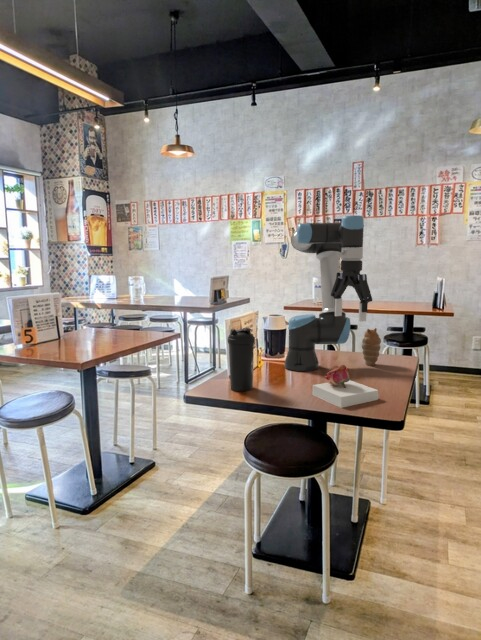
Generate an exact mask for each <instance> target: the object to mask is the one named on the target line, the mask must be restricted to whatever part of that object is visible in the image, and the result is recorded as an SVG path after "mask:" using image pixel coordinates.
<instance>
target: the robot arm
mask: <svg viewBox="0 0 481 640" xmlns="http://www.w3.org/2000/svg"><path fill="white" fill-rule="evenodd" d="M364 223H365V222H364V216H362V215H358V214H357V215H352V214H351V215H343V217H342V219H341V222H304V223H302V222H301V223H298V224H297V226H296V230H295V231H294V232H293V233H292V234H291V237H290V244H291V246H292V247H293V248H294V249H295V250H296V251H299V252H301V253H305V254H316V259H317V260H318V261H319V262H320V263H319V266H320V268H319V270H320V286H321V287H320V291H321V311H320V313H319V314H318V317H316V315H315V314H313V313H310V314H300V315H296V316H295V315H294V316H292V317H290V318H289V320H288V327H287V329H288V351H287V353H286V357H285V361H284V368H285V369H286V370H290V371H296V372H312V371H315V370H318V369H320V368H319V367H320V366H319V359H318V357H317V354H316V345H341V344H346V342H348V340H349V337H350V333H351V332H350V331H351V319H350V318H349V317H346V315H347V314H346V311H344V310H343V297H342V296H343V294H344V293H345V291H346V290H347V288H348V287H352V288H353V289H354V290H355V292H356V294H357V298H358V299H359V303H358V322H360V323H361V322H366V321H367V312H368V303H370V302H373V297H372V293H371V289H370V287H369V284H368V277H367V275H368V274H364V273H362V274H361V271H362V270H363V260H362V259H364V255H363V254H364V230H365V229H364V227H365V224H364ZM340 259H342V260H341V261H340ZM340 271H341V272H340Z"/></svg>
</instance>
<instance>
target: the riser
mask: <svg viewBox="0 0 481 640" xmlns="http://www.w3.org/2000/svg"><path fill="white" fill-rule="evenodd" d="M348 380H349V379H348ZM344 384H345V386H346V388H344V387H343V385H342V384H340V385H338V386H333V384H329V382H323V383H317V384H312V396H314V397H315V398H319V399H321V400H323V401H324V402H327V403H329V404H332V405H333V406H336V407H338V408H341V409H342V408H347V407H350V406H356V405H359V404H364V403H369V402H374V401H377V400H379V390H378V389H375V388H373V387H370V386H367V385H365V384H362V383H359V382H357V381H353V380H351V379H350V380H349V381H348V382H344Z"/></svg>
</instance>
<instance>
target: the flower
mask: <svg viewBox="0 0 481 640" xmlns="http://www.w3.org/2000/svg"><path fill="white" fill-rule="evenodd" d="M349 369H350V368H349V367H347V366H346V365H345V364H341V365H340V366H339V365H334V366H333V367H332V368H331V369H330V370H329V371H328V372H326V373H325V376H323V378H324V379H326V380H327V381H328V383H329V384H333V386H338V385H340V384H342V385H343V387H344V388H346V386H345V384H344V382H348V381H349V380H351V378H353V377H350V376H351V374H350V375H349V373H350V371H349Z"/></svg>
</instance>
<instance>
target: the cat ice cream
mask: <svg viewBox="0 0 481 640" xmlns="http://www.w3.org/2000/svg"><path fill="white" fill-rule="evenodd" d="M366 329H367V330H366V331H365V332H364V337H363V338H362V345H361V348H362V354H363V359H364V361H365V365H366V366H367V367H374V366H376V363H377V362H378V359H379V357H380V350H381V342H382V340H381V338H380V335H379V333H378V332H377V329H378V328H376V327H375V328H373V329H369V328H366Z"/></svg>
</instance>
